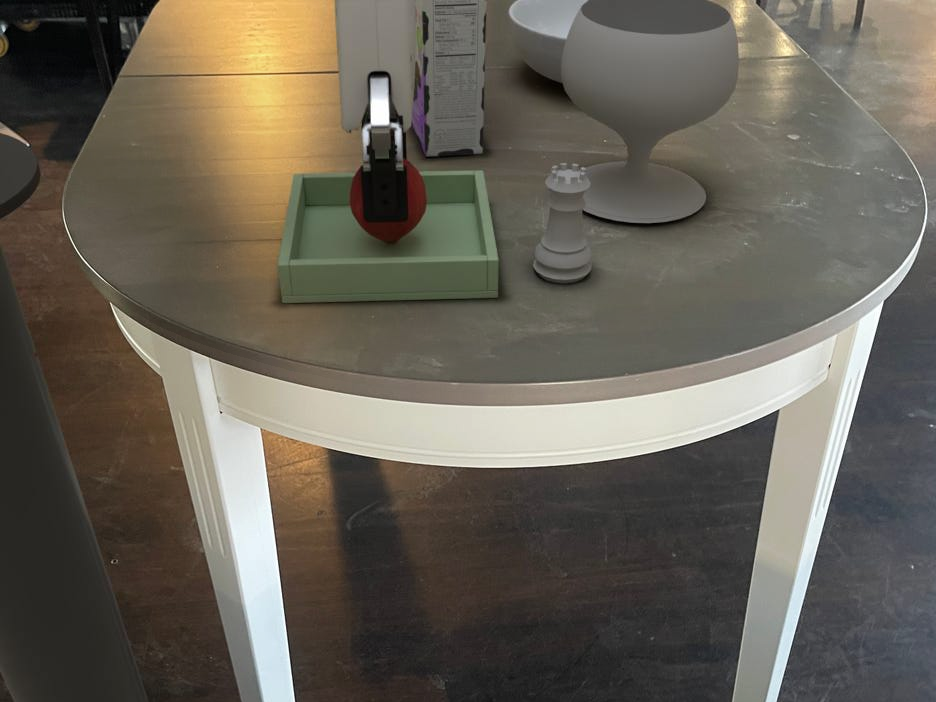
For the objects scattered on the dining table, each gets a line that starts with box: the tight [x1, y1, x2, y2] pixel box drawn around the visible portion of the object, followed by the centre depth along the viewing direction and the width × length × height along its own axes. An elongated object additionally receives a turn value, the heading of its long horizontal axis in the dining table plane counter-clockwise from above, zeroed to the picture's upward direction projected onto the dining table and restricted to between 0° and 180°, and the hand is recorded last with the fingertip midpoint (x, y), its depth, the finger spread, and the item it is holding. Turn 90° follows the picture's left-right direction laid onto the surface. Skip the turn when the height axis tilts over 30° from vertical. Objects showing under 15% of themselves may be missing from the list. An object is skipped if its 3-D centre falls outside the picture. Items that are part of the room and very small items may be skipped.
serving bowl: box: [507, 0, 589, 84], centre depth 108 cm, size 21×21×7 cm
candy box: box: [411, 0, 488, 158], centre depth 94 cm, size 14×6×16 cm, turn 12°
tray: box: [277, 170, 500, 304], centre depth 78 cm, size 16×16×3 cm
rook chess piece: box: [532, 162, 592, 284], centre depth 75 cm, size 4×4×8 cm
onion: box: [350, 158, 427, 244], centre depth 76 cm, size 6×6×8 cm
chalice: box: [561, 0, 740, 224], centre depth 83 cm, size 14×14×15 cm
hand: (386, 191), depth 76 cm, fingers open, 9 cm apart
